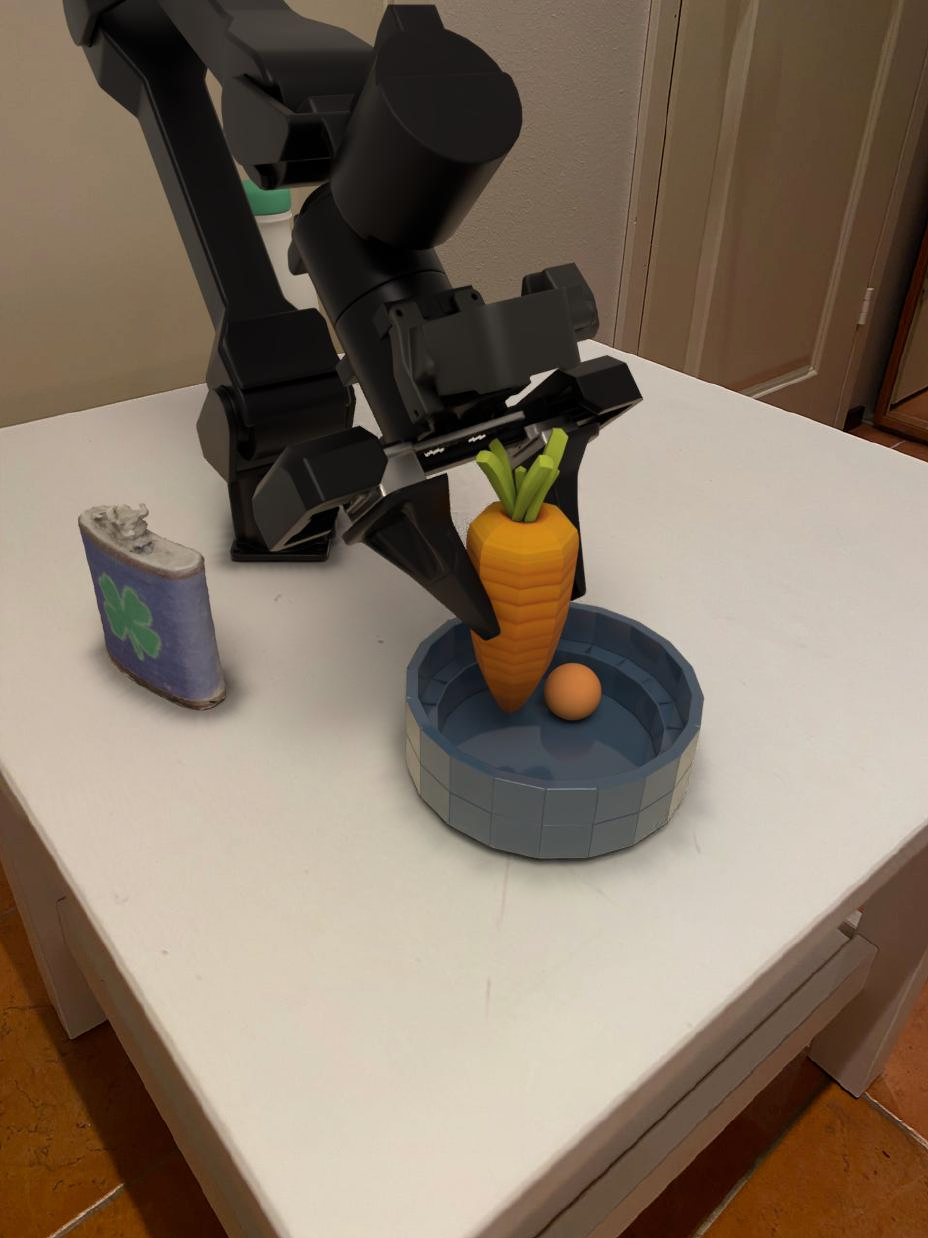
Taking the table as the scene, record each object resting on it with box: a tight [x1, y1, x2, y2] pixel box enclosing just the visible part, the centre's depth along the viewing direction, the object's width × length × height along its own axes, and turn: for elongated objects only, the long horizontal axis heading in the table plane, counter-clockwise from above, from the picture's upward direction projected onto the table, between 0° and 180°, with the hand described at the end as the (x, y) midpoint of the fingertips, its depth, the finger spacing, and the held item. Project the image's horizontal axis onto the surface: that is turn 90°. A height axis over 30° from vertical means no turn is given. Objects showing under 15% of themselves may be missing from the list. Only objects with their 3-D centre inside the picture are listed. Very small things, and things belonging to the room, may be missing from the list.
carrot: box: [465, 428, 579, 713], centre depth 42 cm, size 5×5×15 cm
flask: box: [77, 502, 227, 711], centre depth 50 cm, size 9×3×11 cm, turn 51°
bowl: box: [404, 601, 705, 859], centre depth 46 cm, size 14×14×5 cm
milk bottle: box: [241, 179, 321, 313], centre depth 71 cm, size 8×8×20 cm
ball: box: [544, 663, 601, 720], centre depth 49 cm, size 3×3×3 cm
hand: (536, 617), depth 42 cm, fingers closed on carrot, 5 cm apart
